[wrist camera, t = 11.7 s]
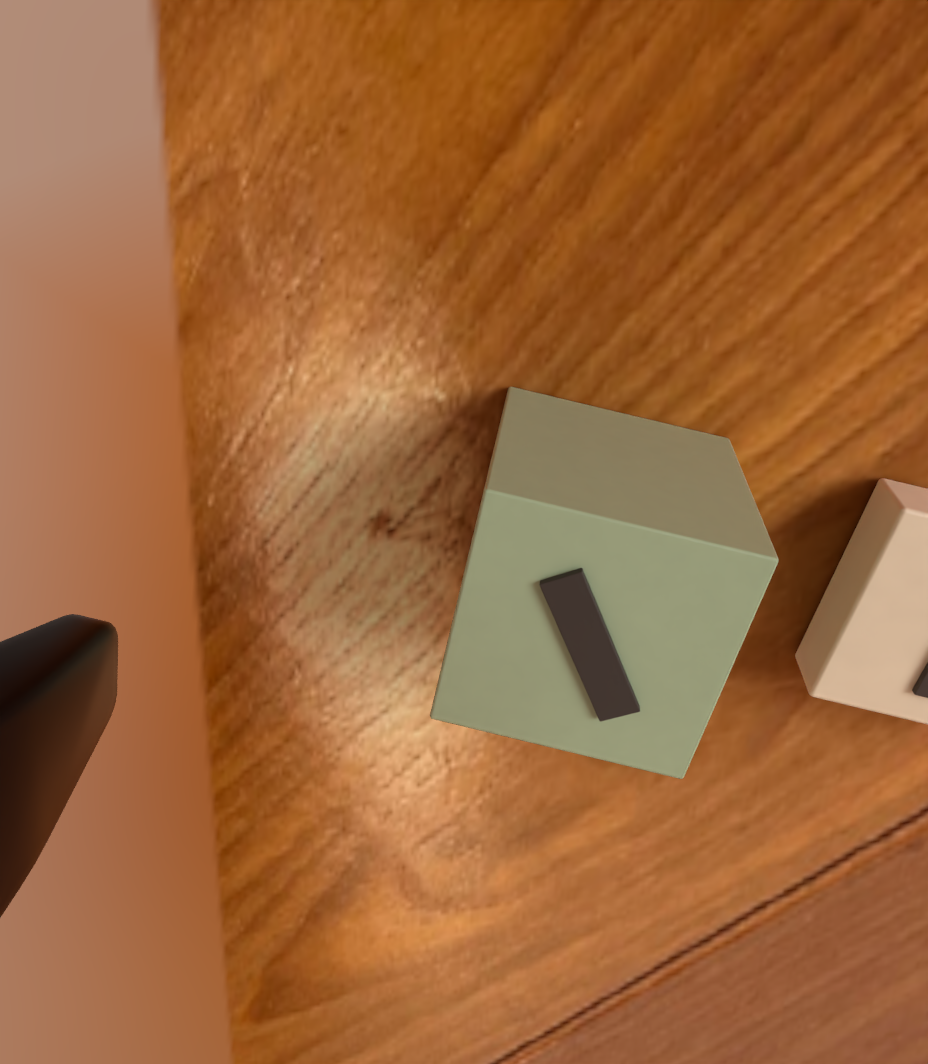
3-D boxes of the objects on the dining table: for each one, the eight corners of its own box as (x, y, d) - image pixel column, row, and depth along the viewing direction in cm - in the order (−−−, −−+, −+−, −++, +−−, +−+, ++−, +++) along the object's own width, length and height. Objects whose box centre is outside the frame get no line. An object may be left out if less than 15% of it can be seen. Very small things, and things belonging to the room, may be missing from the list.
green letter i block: (463, 574, 20) (427, 724, 15) (508, 385, 17) (483, 492, 13) (660, 622, 19) (684, 785, 15) (729, 438, 17) (782, 564, 13)
